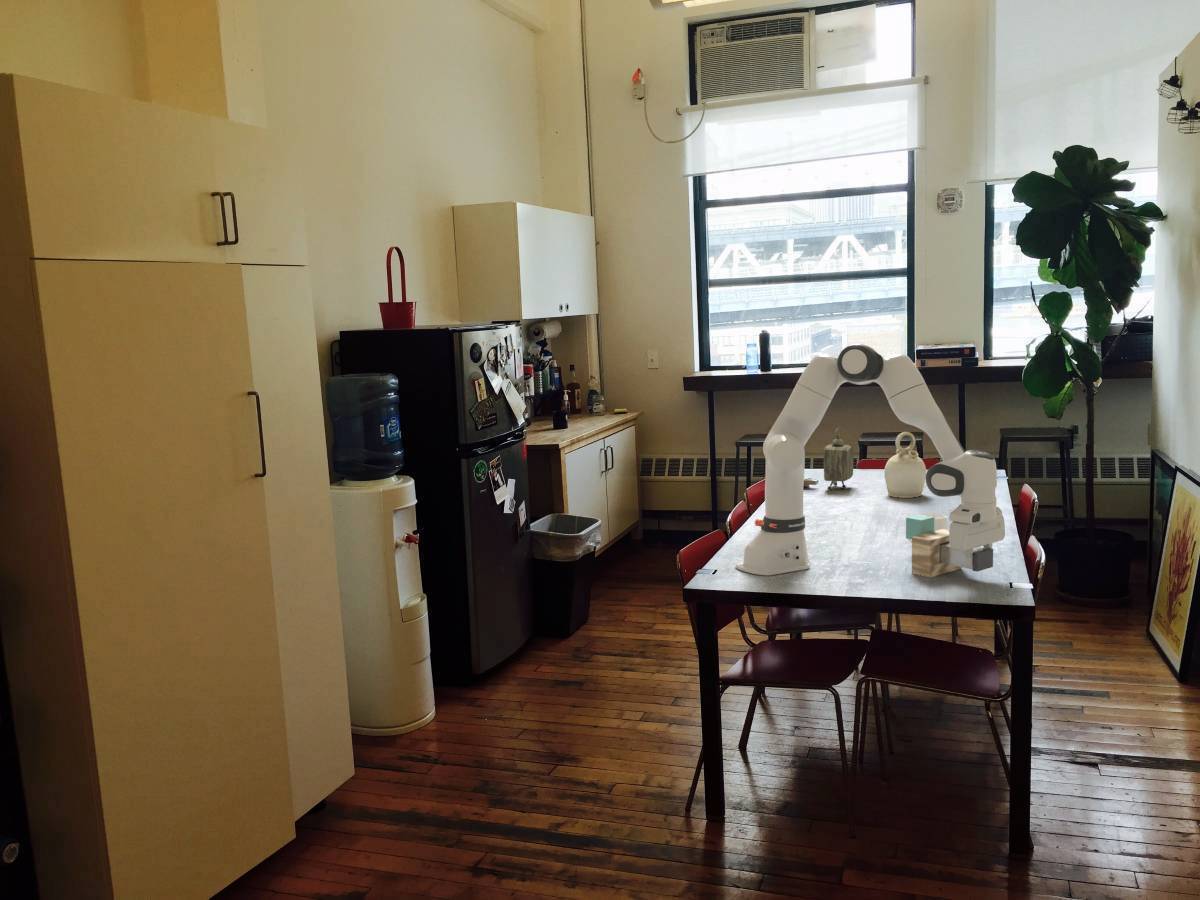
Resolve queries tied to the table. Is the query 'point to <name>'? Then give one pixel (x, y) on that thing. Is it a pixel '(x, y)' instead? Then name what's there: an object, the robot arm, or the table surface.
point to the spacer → (919, 525)
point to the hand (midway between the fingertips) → (977, 561)
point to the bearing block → (930, 554)
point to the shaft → (957, 558)
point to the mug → (937, 521)
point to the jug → (905, 471)
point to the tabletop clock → (838, 462)
